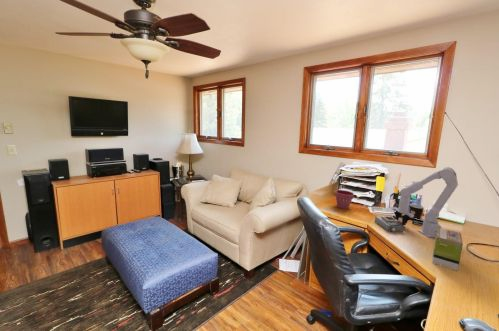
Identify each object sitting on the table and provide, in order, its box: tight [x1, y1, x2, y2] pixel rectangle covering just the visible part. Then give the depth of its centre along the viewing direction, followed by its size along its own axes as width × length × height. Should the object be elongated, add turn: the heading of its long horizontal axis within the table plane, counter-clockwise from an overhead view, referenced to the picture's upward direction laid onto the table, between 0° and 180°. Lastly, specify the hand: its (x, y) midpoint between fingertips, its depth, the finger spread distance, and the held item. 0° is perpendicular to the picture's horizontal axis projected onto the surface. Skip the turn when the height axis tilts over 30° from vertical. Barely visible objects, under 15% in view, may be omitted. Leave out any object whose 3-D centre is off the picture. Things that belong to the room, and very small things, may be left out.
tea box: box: [431, 227, 464, 272], centre depth 118 cm, size 15×10×15 cm
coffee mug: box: [409, 203, 425, 220], centre depth 174 cm, size 12×9×10 cm
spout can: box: [398, 216, 405, 227], centre depth 160 cm, size 4×4×7 cm
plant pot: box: [334, 189, 355, 210], centre depth 193 cm, size 14×14×13 cm
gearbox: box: [374, 215, 405, 233], centre depth 157 cm, size 18×10×6 cm, turn 179°
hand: (401, 223), depth 160 cm, fingers closed on spout can, 4 cm apart
